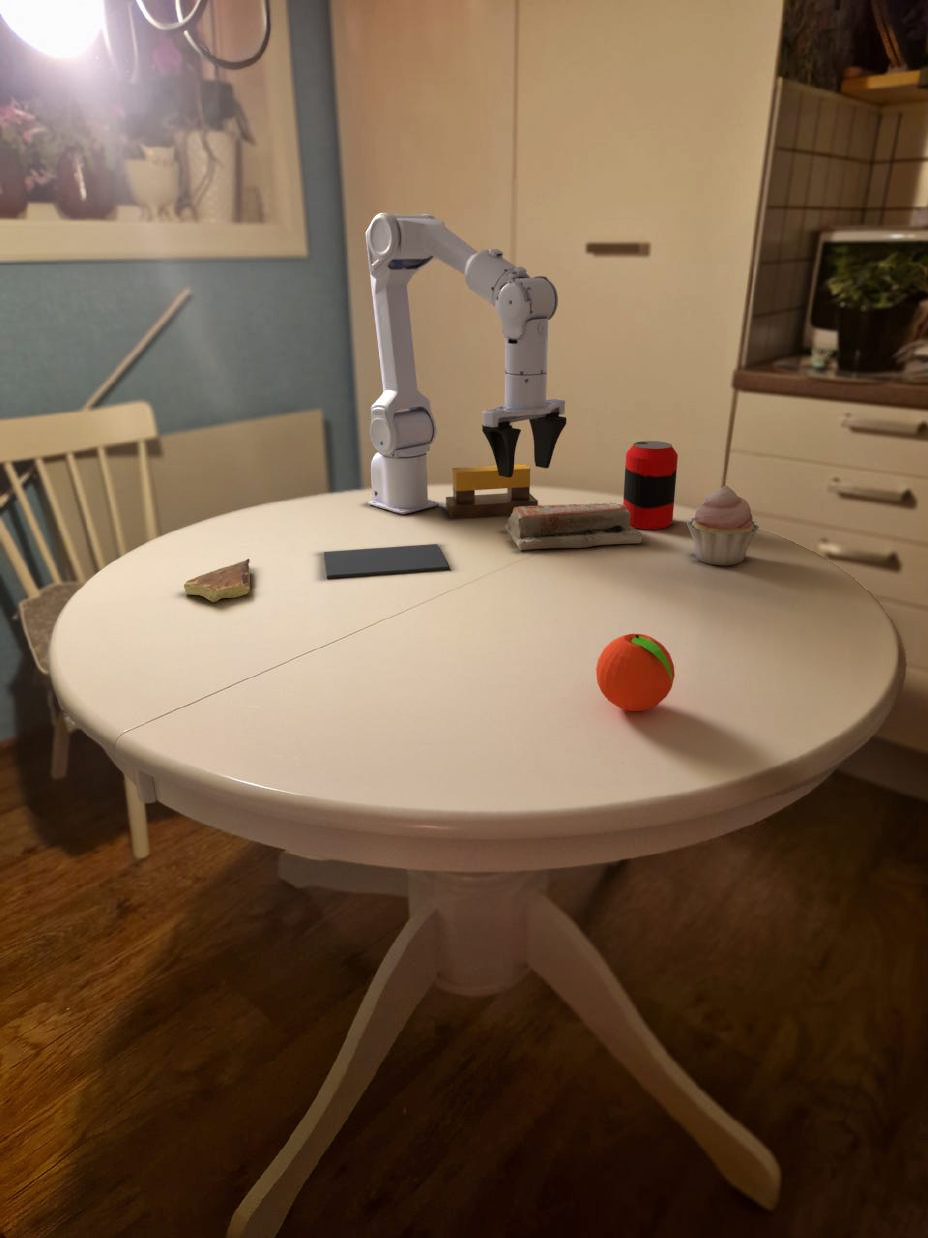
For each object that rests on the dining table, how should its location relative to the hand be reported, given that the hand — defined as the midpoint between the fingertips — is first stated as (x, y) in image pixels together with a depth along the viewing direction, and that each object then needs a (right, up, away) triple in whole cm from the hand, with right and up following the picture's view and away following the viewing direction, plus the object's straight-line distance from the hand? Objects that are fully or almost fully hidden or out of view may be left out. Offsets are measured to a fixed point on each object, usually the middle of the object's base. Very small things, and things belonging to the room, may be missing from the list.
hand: (524, 471), depth 123 cm
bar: (-4, 0, +16) cm, 17 cm away
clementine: (+7, -29, -44) cm, 53 cm away
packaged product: (+7, -9, +4) cm, 12 cm away
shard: (-40, -17, -13) cm, 45 cm away
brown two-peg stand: (-4, -3, +18) cm, 19 cm away
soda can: (+20, -6, +10) cm, 23 cm away
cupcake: (+26, -13, -6) cm, 30 cm away
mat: (-19, -13, -5) cm, 24 cm away
